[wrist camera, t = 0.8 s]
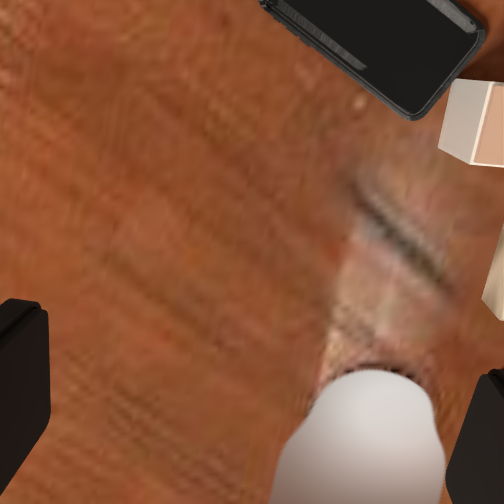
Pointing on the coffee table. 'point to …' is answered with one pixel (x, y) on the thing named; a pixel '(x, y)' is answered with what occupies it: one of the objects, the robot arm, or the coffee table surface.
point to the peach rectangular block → (475, 122)
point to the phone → (388, 44)
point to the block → (496, 281)
